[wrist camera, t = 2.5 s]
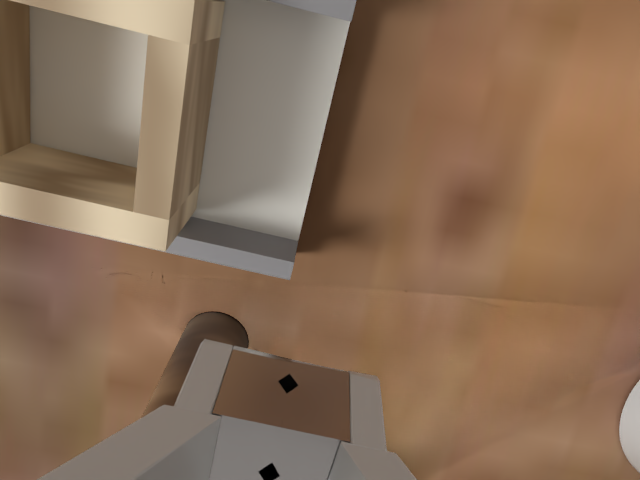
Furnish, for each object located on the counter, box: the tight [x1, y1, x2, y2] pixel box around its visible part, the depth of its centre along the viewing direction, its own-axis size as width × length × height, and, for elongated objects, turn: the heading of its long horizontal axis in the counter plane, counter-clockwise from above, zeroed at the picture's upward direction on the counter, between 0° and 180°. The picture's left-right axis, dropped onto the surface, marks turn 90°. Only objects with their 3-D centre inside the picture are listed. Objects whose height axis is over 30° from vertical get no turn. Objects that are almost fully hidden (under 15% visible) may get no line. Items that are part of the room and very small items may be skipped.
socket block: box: [0, 0, 225, 252], centre depth 22 cm, size 10×10×5 cm
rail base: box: [2, 0, 356, 280], centre depth 22 cm, size 22×14×8 cm, turn 77°
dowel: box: [141, 311, 249, 418], centre depth 25 cm, size 4×4×14 cm
